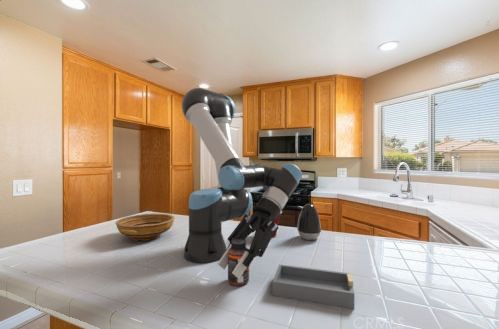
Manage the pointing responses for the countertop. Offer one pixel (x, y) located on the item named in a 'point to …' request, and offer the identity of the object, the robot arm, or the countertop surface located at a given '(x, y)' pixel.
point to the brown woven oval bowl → (145, 225)
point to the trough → (314, 285)
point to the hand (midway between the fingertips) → (228, 271)
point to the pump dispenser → (309, 222)
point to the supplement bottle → (233, 259)
